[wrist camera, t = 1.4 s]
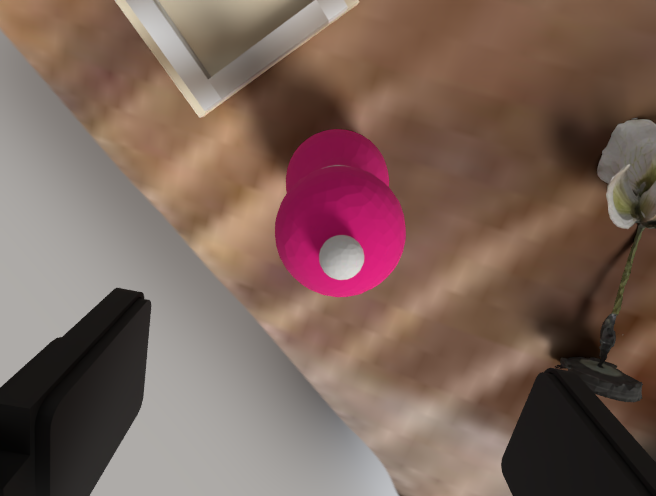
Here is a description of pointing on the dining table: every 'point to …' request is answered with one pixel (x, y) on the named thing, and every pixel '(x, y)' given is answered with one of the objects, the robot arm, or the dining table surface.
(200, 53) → the rail board
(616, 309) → the artificial flower
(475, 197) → the dining table surface
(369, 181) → the pepper mill
